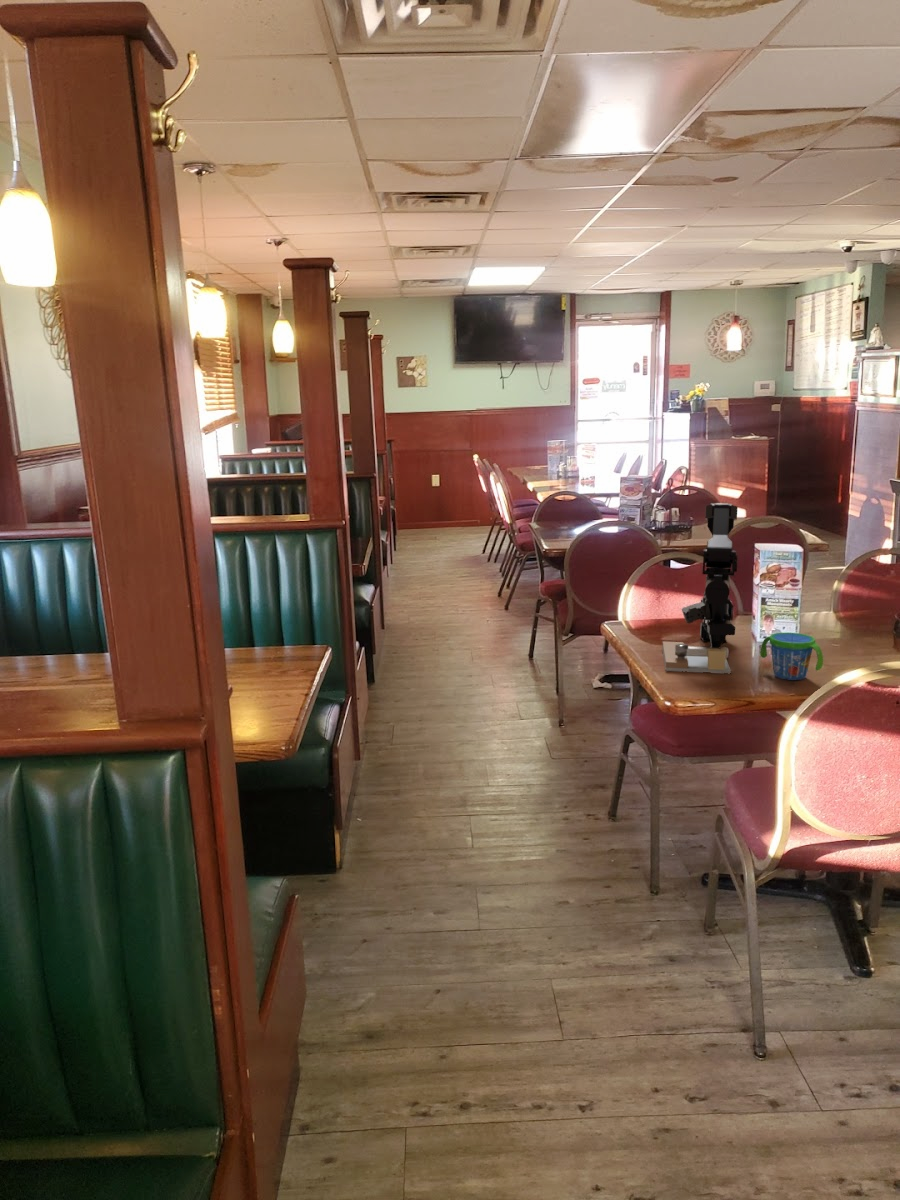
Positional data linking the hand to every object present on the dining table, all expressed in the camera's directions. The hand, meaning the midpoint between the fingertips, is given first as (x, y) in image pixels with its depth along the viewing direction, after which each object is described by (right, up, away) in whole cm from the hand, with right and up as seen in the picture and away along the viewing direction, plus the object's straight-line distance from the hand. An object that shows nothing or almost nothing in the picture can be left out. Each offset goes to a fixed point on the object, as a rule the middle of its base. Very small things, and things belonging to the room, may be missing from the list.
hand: (714, 652), depth 220 cm
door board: (-4, -3, +5) cm, 7 cm away
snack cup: (+16, -6, -9) cm, 19 cm away
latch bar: (-4, -1, -2) cm, 4 cm away
